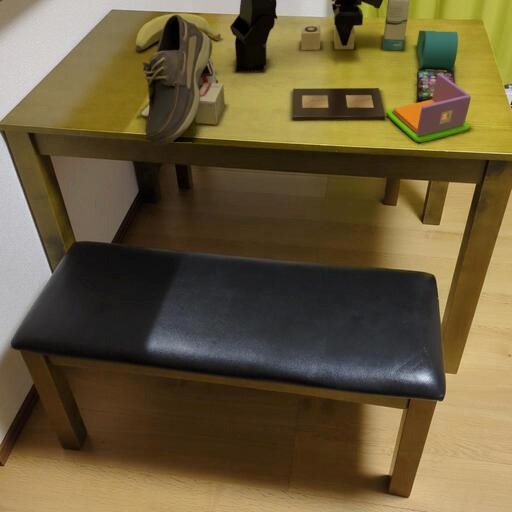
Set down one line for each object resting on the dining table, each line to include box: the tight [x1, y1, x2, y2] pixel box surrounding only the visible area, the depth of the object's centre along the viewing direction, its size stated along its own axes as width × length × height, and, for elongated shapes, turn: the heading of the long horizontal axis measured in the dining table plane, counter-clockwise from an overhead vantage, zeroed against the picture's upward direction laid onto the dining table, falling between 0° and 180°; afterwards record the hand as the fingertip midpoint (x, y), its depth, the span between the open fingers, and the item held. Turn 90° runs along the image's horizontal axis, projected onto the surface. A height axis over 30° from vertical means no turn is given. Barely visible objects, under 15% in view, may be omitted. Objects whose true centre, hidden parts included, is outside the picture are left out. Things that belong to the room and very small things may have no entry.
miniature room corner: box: [386, 74, 472, 143], centre depth 110 cm, size 12×12×7 cm
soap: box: [141, 104, 149, 118], centre depth 121 cm, size 10×4×1 cm, turn 163°
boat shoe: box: [141, 15, 213, 147], centre depth 111 cm, size 11×29×11 cm
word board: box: [292, 87, 386, 121], centre depth 119 cm, size 18×12×1 cm, turn 87°
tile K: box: [333, 25, 356, 50], centre depth 140 cm, size 4×4×4 cm
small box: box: [194, 82, 226, 126], centre depth 116 cm, size 5×4×8 cm
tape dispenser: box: [416, 30, 459, 70], centre depth 130 cm, size 7×15×8 cm, turn 172°
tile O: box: [300, 25, 322, 51], centre depth 140 cm, size 4×4×4 cm
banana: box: [135, 12, 221, 51], centre depth 145 cm, size 14×6×20 cm
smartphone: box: [416, 67, 456, 103], centre depth 122 cm, size 8×1×15 cm
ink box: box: [382, 0, 411, 51], centre depth 137 cm, size 8×5×12 cm, turn 168°
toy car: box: [199, 57, 219, 91], centre depth 126 cm, size 8×18×8 cm, turn 10°
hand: (343, 41), depth 140 cm, fingers closed on tile K, 4 cm apart
